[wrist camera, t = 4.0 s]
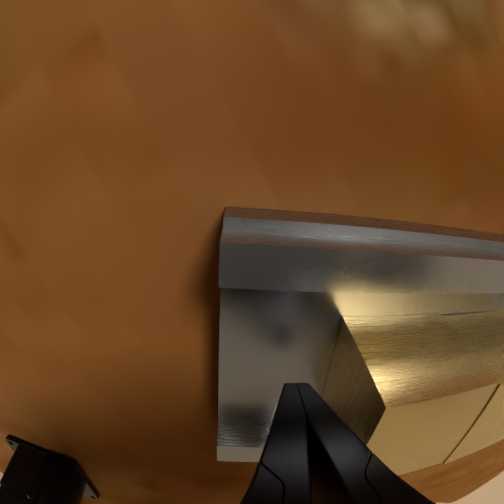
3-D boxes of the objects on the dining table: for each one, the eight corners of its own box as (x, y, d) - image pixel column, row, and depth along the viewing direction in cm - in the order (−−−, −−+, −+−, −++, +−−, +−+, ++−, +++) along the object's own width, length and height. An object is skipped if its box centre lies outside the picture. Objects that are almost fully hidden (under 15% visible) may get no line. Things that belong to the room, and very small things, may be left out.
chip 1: (407, 391, 11) (443, 461, 8) (320, 401, 11) (341, 486, 7) (440, 313, 10) (499, 381, 6) (342, 316, 10) (386, 408, 6)
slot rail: (463, 400, 14) (480, 427, 12) (219, 422, 13) (217, 464, 11) (531, 239, 10) (564, 258, 8) (225, 206, 10) (220, 229, 7)
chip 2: (471, 380, 12) (510, 435, 8) (407, 394, 11) (443, 463, 8) (504, 309, 10) (559, 361, 6) (440, 316, 10) (500, 384, 6)
